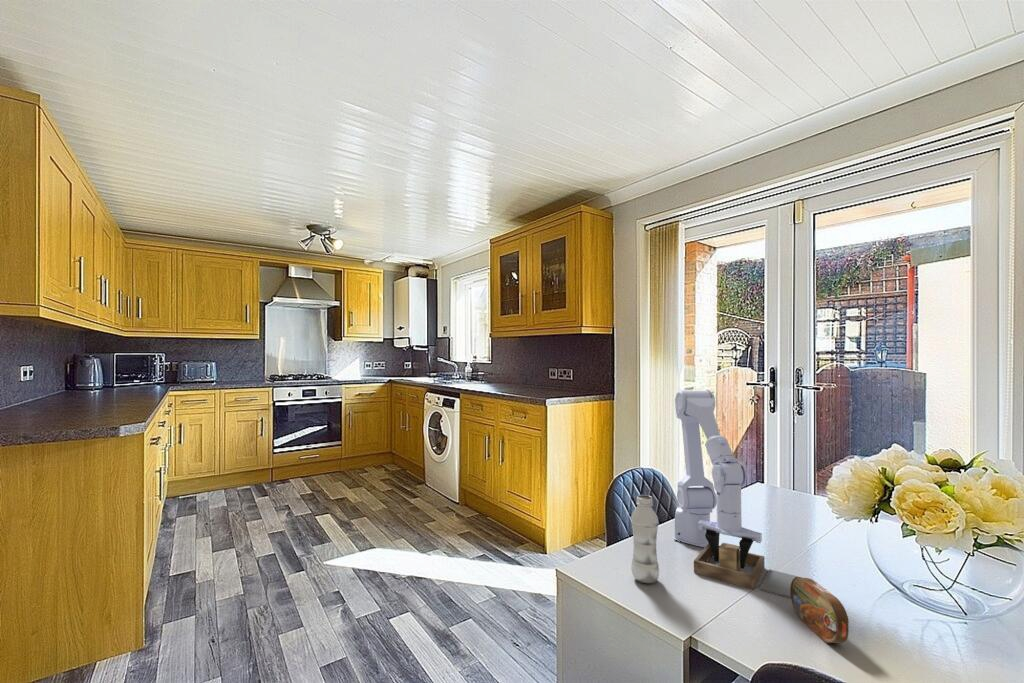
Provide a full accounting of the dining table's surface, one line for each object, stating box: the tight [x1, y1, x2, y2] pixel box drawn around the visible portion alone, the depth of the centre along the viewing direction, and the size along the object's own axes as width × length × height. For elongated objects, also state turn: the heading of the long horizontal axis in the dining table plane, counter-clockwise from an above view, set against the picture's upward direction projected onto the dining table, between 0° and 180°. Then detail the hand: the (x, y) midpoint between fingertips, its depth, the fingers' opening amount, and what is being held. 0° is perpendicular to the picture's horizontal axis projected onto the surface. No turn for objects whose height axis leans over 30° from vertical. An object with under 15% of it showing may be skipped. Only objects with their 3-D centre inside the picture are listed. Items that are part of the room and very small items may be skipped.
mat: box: [760, 569, 803, 599], centre depth 110 cm, size 8×12×1 cm, turn 142°
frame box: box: [693, 543, 766, 591], centre depth 117 cm, size 14×14×3 cm
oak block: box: [718, 542, 741, 572], centre depth 117 cm, size 4×4×6 cm
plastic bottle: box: [630, 494, 660, 584], centre depth 112 cm, size 6×7×20 cm
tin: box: [790, 576, 850, 644], centre depth 92 cm, size 15×3×8 cm, turn 178°
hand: (729, 564), depth 117 cm, fingers open, 5 cm apart
